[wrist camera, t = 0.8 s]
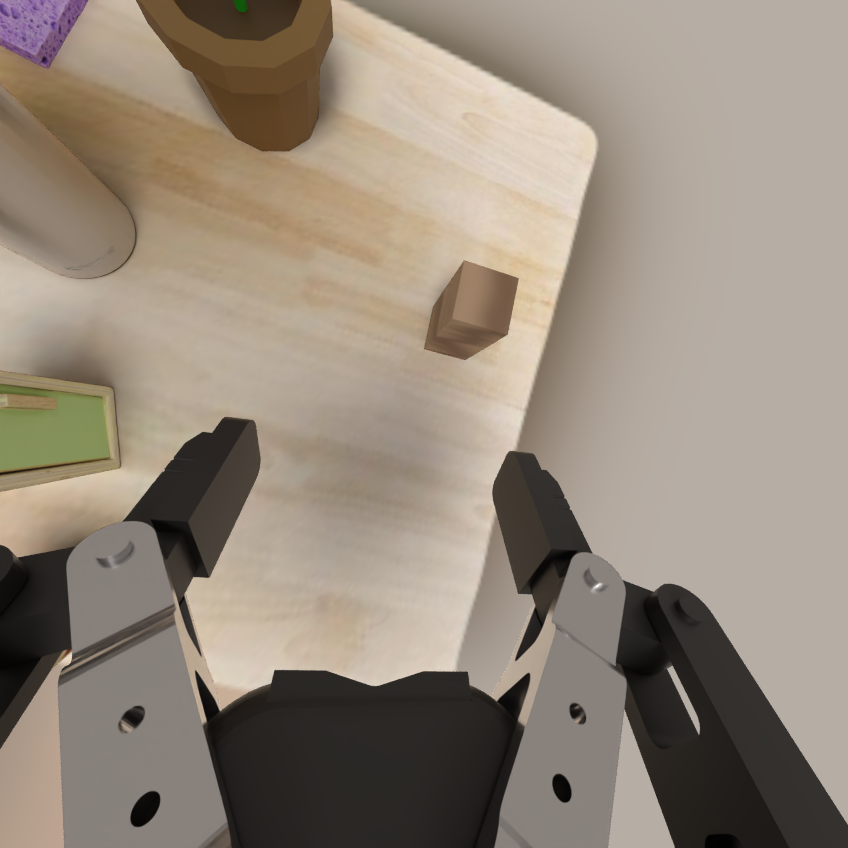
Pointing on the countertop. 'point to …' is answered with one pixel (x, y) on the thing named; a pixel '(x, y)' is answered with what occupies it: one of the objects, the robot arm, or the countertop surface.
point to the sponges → (37, 26)
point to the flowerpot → (251, 61)
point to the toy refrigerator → (54, 430)
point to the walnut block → (471, 311)
